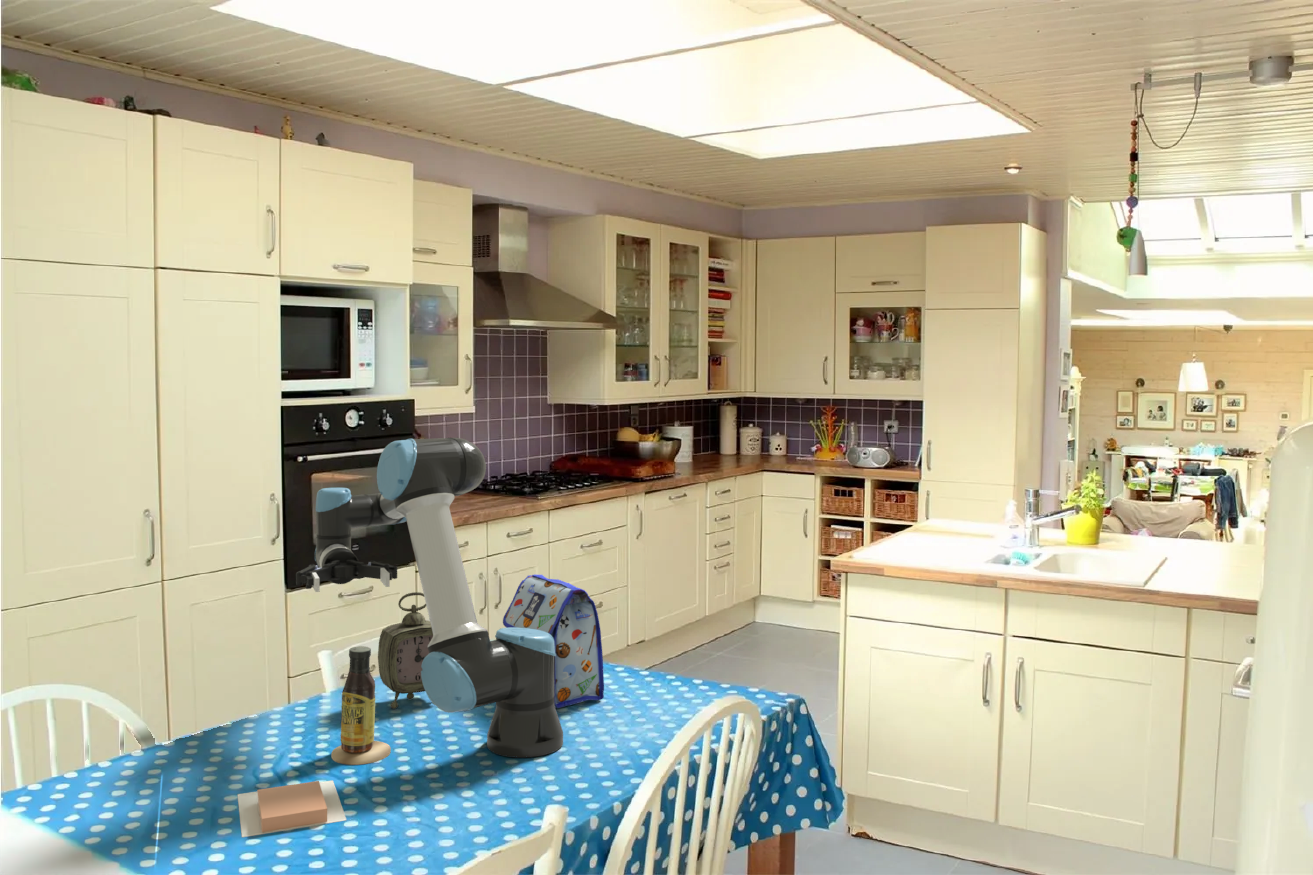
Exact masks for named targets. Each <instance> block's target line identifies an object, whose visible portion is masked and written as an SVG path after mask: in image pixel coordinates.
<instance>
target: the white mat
mask: <svg viewBox="0 0 1313 875" xmlns="http://www.w3.org/2000/svg"><path fill="white" fill-rule="evenodd" d="M319 783H320V787H321V790H322V793H323V796H324V800H325V803H326V806H327V822H326V823H320V824H314V825H307V826H301V827H295V828H289V829H283V830H277V831H271V832H264V833H263V832H262V829H261V822H260V816H259V809H258V800H257V791H250V792H244V793H237V802H238V803H237V805H238V814H239V823H240V832H241V834H240V835H241V838H246V837H253V836H259V835H265V834H271V833H279V832H282V831H283V832H285V831H289V830H296V829H303V828H309V827H314V826H320V825H327V824H332V823H339V822H345V821H347V817H346V814H345V811H344V808H343V806H342V803H341V800H340V796H339V794H338V791H337V788H336V786H335V783H334V780H326V781H319Z"/></svg>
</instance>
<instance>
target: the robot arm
mask: <svg viewBox="0 0 1313 875" xmlns="http://www.w3.org/2000/svg"><path fill="white" fill-rule="evenodd" d="M378 459H379V461H378V464H377V467H376V482H377V488H378V491H379V492H378V493H368V494H351V493H352V492H351V489H350V488H347V487H324V488H321V489H319V490H318V491H317V493H316V499H315V517H316V518H315V521H316V538H315V539H316V540H315V541H316V542H315V543H316V544H315V550H314V561H315V562H316V564H314V563H310V564H309V565H308V566H307V567H305V568H303V569H301V570H299V571H297V572H296V573H295V584H296V586H302V585H304V584H305V589H307V590H310V589H312V588H313V590H314V592H315V593H319V592H320V583H321V582H324V581H326V582H329V581H330V583H332V584H335V585H345V584H348V583H350V582H351V581H353V580H354V579H356V580H357V579H358V580H361V579H365V578H367V579H368V578H369V579H377V580H380V582H381V583H382V584H383V586H385V587H386V588H387V587H388V588H389V587H390V582H391V581H393V580H396V579H398V566H396V565H391V564H390V563H381V562H377V561H375V560H373V559H371V560H370V561H368V564H365V562H364V561H359V559H358V557H357V556H356V554H355V553H354V552H353V551H352V529H355V528H366V527H376V526H386V525H387V526H388V525H391V526H392V525H396V524H397V525H398V524H402V523H405V522H406V523H407V528H408V532H409V536H410V541H411V546H412V550H413V553H414V558H415V562H416V567H417V571H418V576H419V580H420V583H421V584H420V585H421V588H422V592H423V594H424V600H425V604H426V610H427V613H428V614H427V615H428V618H429V621H430V623H431V627H432V632H433V638H432V639H431V641H430V643H429V644H428V651H429V654H428V655H427V656H426V657H425V658H424V660H423V662H422V666H421V667H422V669H423V670H422V671H421V678H422V683H423V686H424V689H425V691H424V692H425V693H426V695H427V697H428V699H429V700H430V701H431V702H432V704H433V705H434V706H436V707H437V708H438V709H439V711H442V712H445V713H448V714H449V713H457V712H467V711H470V710H473V709H475V708H479V707H483V706H487V705H491V704H494V703H495V709H494V712H493V715H492V718H491V722H490V725H489V728H488V731H487V733H486V734H487V735H486V748H487V749H488V750H489V751H490V752H492V753H494V754H496V755H498V756H502V757H509V758H535V757H541V756H546V755H549V754H551V753H554V752H556V751H558V750H560V749H561V748H562V747H563V745H564V731H563V730H564V729H563V728H562V724H561V722H560V719H559V718H560V717H559V715H558V711H557V708H556V707H555V656H556V654H555V646H554V639H553V637H552V636H551V635H550V634H549V633H547V632H544V631H541V630H536V629H529V628H517V627H509V628H506V627H502V628H499V629H498V630H497V631H496V632H495V636H494V637H495V639H494V640H491V639H490V636H489V635H488V633H489V631H488V629H487V628H484V626H482V625H480V624H479V623H478V621H477V620H478V619H477V616H476V612H475V608H474V604H473V599H472V596H471V592H470V588H469V583H468V578H467V574H466V570H465V567H464V563H463V559H462V558H463V557H462V555H461V554H462V553H461V551H460V546H459V541H458V537H457V534H456V529H455V525H454V522H453V517H452V514H451V508H450V506H451V504H452V503H453V502H454V500H455V498H456V497H459V496H462V495H465V494H467V493H469V492H472V491H473V490H474V489H476V488H477V487H479V485H481V483H482V482H483V481H484V478H485V475H486V470H487V469H486V468H487V464H486V460H485V456H484V454H483V452H482V451H481V450H480V449H479V447H478V446H477V445H475V444H474V443H473V442H471V441H469V440H467V439H466V438H460V437H447V438H446V437H441V438H440V437H439V438H438V437H436V438H407V439H401V440H394V441H392V442H389V443H388V444H387V445H386V446H385V447H384V449H383V450H382V452H381V454H380V456H379V458H378Z"/></svg>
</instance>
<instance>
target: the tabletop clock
mask: <svg viewBox="0 0 1313 875" xmlns="http://www.w3.org/2000/svg"><path fill="white" fill-rule="evenodd" d="M412 596H422V597H424V593H422V592H419V591H417V592H414V591H413V592H409V593H406V594H404V595H402V596H401V598H400V599H399V600H398V607H399V609H401V610H402V611H405V612H408V613H406V614H405V615H404V616H403V618H402V619H401V620H402V621H401V622H399V623H397V622H396V623H393V624H390V625H387V626H385V627H383V629H382V630H381V632H380V636H379V640H378V651H377V663H378V664H377V665H378V673H379V677H380V680H381V682H382V684H383V685H385V687H387V688H388V689H389V690H390V691H392V692H393V693H394V694H395V695H394V699H393V701H392V702H391V703H390V708H391V709H393V710H395V709H397V708H398V706H399V704H398V698H399V696H400V694H404V695H405V694H407V695H406V698H407V699H408V700H409V701H410V700H413V699H414V698H415V695H414V693H415V694H416V693H424V692H426V691H425V689H424V686H423V683H422V678H421V671H422V670H423V669H422V667H421V666H422V662H423V660H424V658H425V657H426V656H427V655H428V654H429V651H428V644H429V643H430V641H431V639H432V638H433V632H432V627H431V623H430V620H426V617H425V616H424V615H423V614H422V613H421V612H418V611H422V610H423V609H425V608H427V606H426V603H425V604H423V605H422V606H419V607H417V605H416V604H412V605H411V606H410V608H406V607H403V606H402V605H401V603H402V601H403V600H404V599H405V598H408V597H412ZM424 598H425V597H424Z"/></svg>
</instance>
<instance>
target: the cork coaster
mask: <svg viewBox="0 0 1313 875" xmlns="http://www.w3.org/2000/svg"><path fill="white" fill-rule="evenodd" d="M391 749H392V748H391V746H390V745H389V744H388V743H386V742H383V741H379V740H374V741H373V746H372V748H371V749H370V750H368V751H365V752H362V753H348V752H345V751H343V750H342V748H341V745H339V746H337V747H335V748H334V749H333V750H331V760H332V761H334V762H335V763H338V764H342V765H348V766H349V765H352V766H353V765H354V766H355V765H357V766H358V765H368V764H374V763H376V762H379V761H382V760H385V759H386V758H388V757H389V756H390V754H391V751H392V750H391Z"/></svg>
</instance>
